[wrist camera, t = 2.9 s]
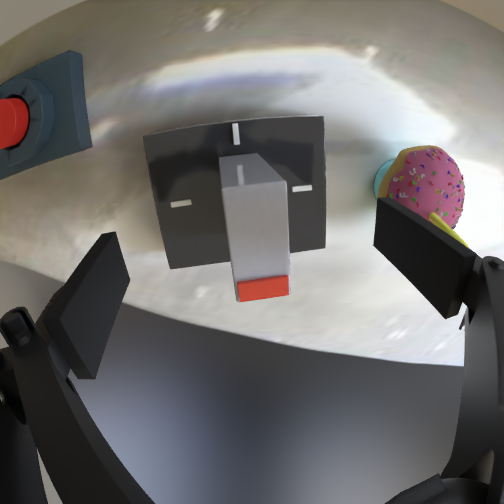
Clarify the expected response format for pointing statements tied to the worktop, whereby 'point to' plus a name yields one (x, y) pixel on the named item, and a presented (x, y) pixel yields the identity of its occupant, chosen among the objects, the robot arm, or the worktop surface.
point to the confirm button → (12, 121)
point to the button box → (48, 113)
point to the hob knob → (256, 226)
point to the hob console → (209, 187)
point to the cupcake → (425, 185)
